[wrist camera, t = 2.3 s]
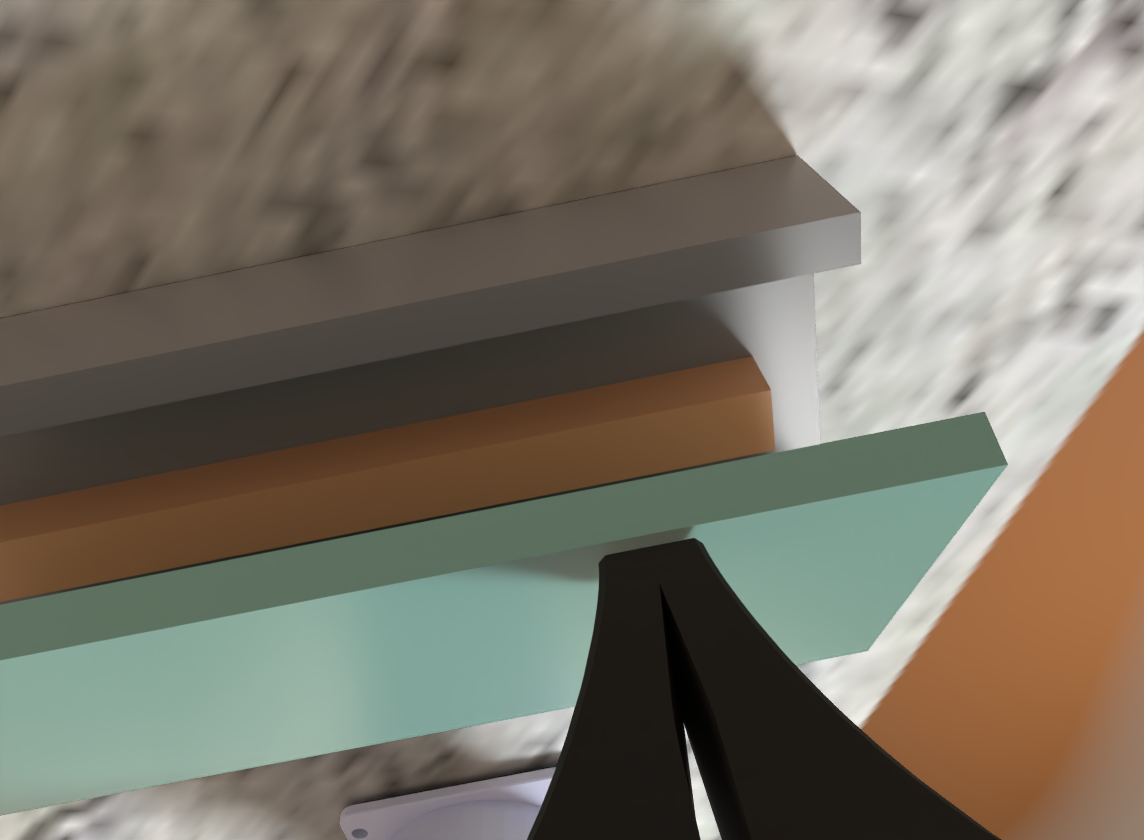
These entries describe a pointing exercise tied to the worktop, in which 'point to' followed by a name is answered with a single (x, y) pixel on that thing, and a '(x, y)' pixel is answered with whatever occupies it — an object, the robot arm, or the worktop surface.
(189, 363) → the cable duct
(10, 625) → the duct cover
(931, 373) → the worktop surface
